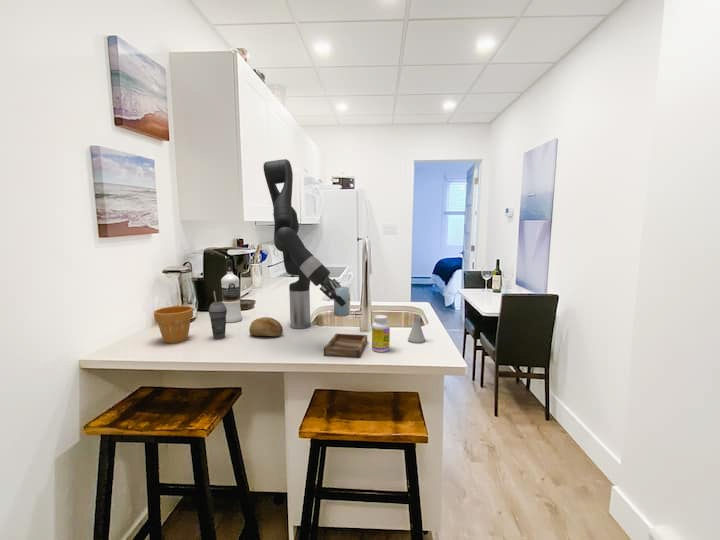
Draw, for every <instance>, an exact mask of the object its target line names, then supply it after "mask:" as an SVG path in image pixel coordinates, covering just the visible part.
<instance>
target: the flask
mask: <svg viewBox="0 0 720 540" xmlns="http://www.w3.org/2000/svg"><path fill="white" fill-rule="evenodd" d="M412 318H413V324H412V328H411V329H410V333H409V334H408V335H409V336H408V337H407V342H409V341H410V342H411V343H415V344H416V343H417V344H422V343H425V342H426V338H425V335H424V333H423V329H422V325H421V319H422V318H421V316H419V315H413V316H412ZM424 341H425V342H424Z"/></svg>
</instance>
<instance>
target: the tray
mask: <svg viewBox="0 0 720 540" xmlns="http://www.w3.org/2000/svg"><path fill="white" fill-rule="evenodd" d="M366 343H368V335H367V334H351V333H335V334H334V336H333V337H331V339H330V340H329V342H327V344H325V346H324V347H323V356H324V357H335V358H352V359H353V358H354V359H359V358H360V357H361V355H362V353H363V351H364V349H365V347H366V345H367V344H366Z"/></svg>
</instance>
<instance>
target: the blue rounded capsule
mask: <svg viewBox="0 0 720 540" xmlns="http://www.w3.org/2000/svg"><path fill="white" fill-rule="evenodd" d="M336 292H337V293H338V295H339V296H340V297H341V298H342V299H343V300H344V301H345V302H346V304H345V305H344V306H343V307H341V306H340V305H339V304H338V303H337V302H336V301H335V300H333V316H335V317H348V316H349V315H350V300H349V298H350V287H348V286H347V287H346V286H341V287H336Z"/></svg>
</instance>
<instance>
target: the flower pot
mask: <svg viewBox="0 0 720 540" xmlns="http://www.w3.org/2000/svg"><path fill="white" fill-rule="evenodd" d="M153 316H154V321H155V323H157V325H158V328H159V331H160V334H161V337H162V341H163V342H164V343H165V344H179V343H183V342H185V341H187V340H188V338H189V337H188V336H189V333H190V326H191V321H192V320H191V319H193V317H194V308H193V306H189V305H175V306H173V305H172V306H165V307H162V308H158V309H155V310H154V312H153ZM178 342H179V343H178Z"/></svg>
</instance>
